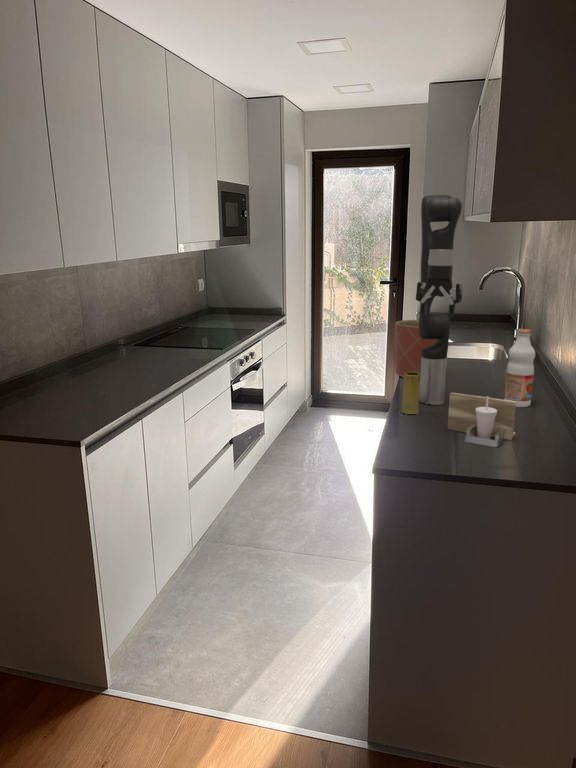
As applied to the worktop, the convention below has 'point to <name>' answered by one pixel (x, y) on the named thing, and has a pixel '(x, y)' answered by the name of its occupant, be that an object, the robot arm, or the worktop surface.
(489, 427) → the smoothie
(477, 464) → the worktop surface
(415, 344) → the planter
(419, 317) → the robot arm
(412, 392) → the vase
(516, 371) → the fruit juice
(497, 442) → the white u-shaped frame
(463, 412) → the wall board
